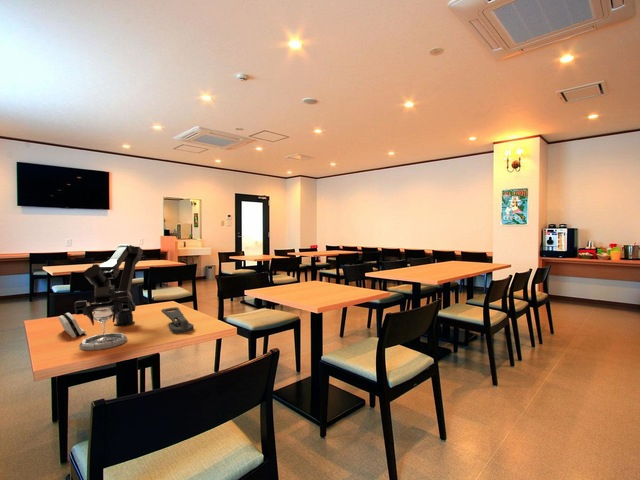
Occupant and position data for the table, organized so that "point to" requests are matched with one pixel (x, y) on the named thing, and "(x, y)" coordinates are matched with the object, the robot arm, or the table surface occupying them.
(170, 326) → the zipper pull
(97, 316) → the wineglass
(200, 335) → the table surface
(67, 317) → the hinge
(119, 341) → the rosette plate
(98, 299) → the robot arm
